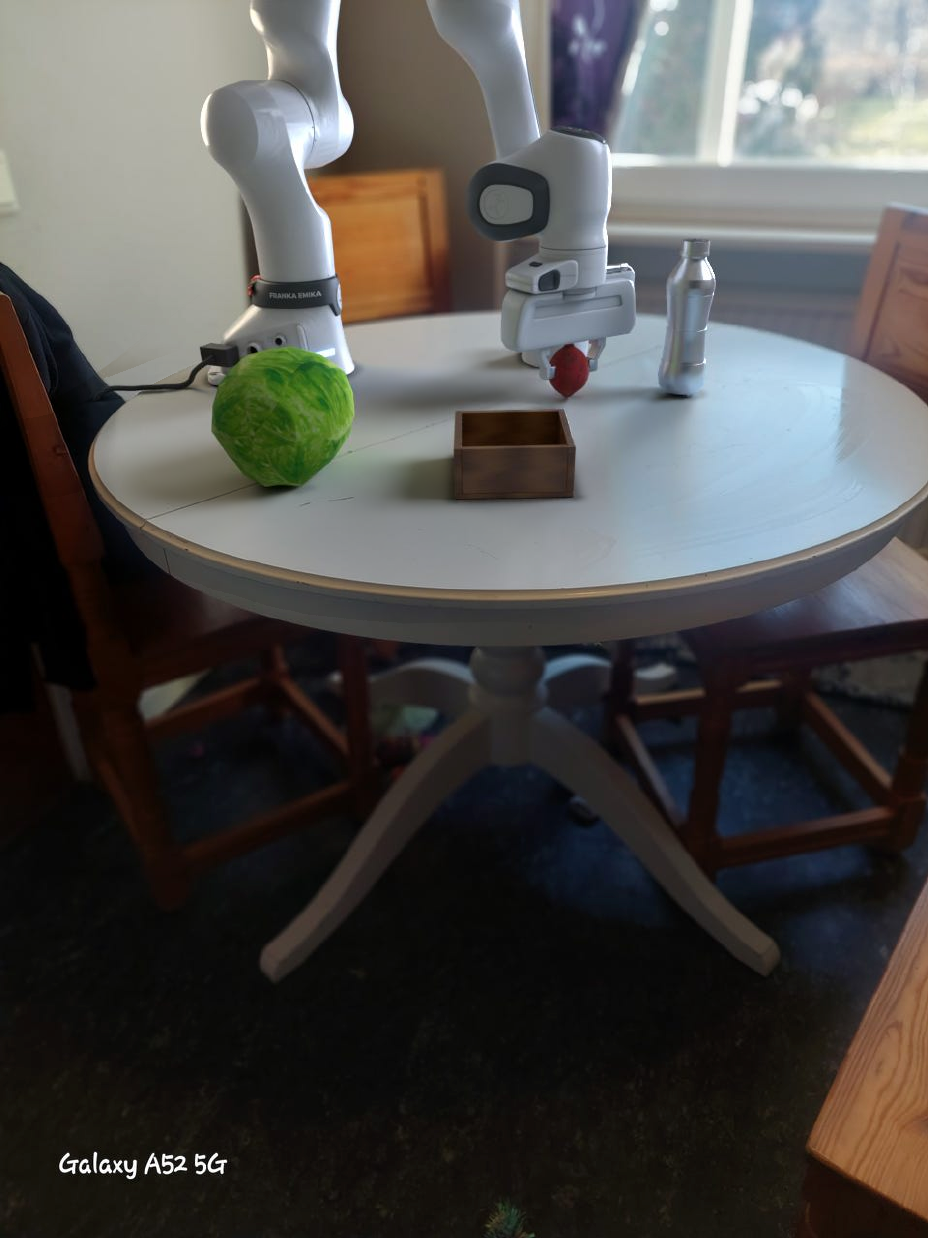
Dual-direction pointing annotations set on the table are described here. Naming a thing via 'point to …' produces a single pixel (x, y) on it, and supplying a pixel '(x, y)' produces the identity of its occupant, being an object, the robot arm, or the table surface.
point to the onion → (569, 370)
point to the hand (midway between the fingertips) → (568, 374)
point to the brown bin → (513, 454)
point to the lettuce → (283, 415)
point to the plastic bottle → (687, 319)
